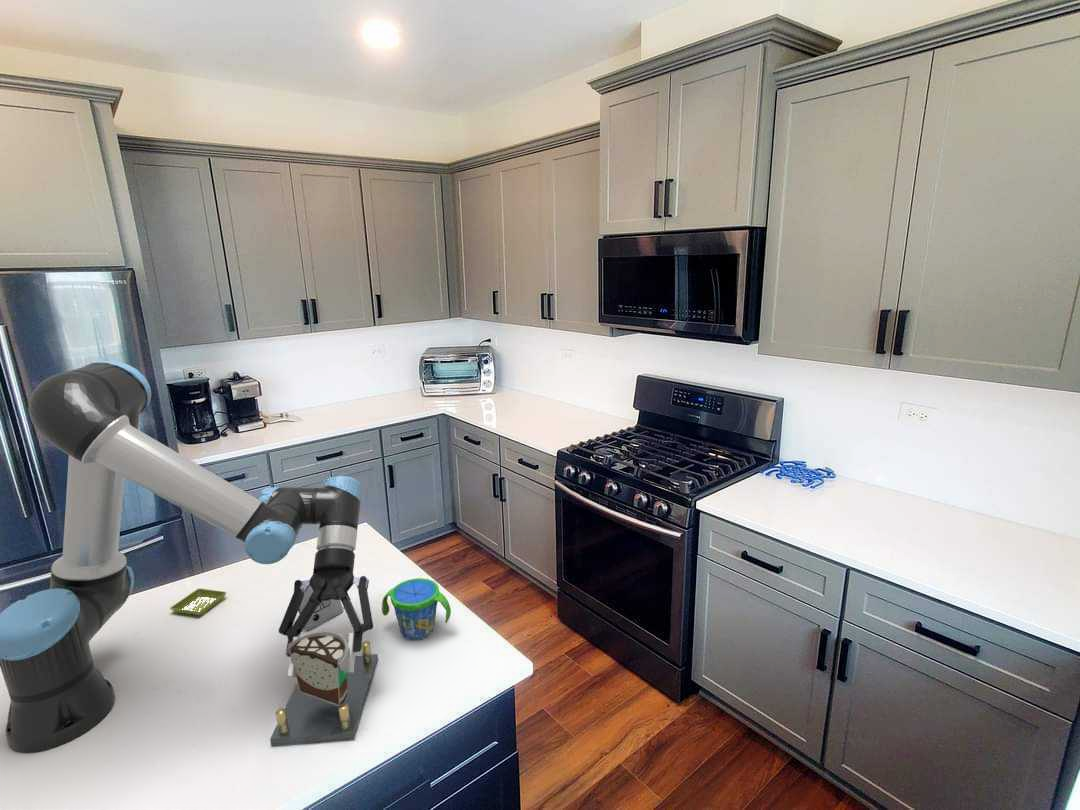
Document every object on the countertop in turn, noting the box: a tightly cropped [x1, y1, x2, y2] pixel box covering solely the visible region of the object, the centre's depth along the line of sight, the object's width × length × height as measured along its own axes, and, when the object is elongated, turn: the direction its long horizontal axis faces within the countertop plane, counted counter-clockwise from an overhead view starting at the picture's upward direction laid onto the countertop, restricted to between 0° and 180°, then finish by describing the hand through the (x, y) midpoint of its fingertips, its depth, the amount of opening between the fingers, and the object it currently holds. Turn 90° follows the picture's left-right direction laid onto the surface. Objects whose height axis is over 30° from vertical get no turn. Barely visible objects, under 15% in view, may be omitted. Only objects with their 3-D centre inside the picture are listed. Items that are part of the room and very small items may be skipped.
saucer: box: [169, 588, 227, 616], centre depth 135 cm, size 9×9×2 cm
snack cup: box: [381, 577, 452, 641], centre depth 123 cm, size 16×10×10 cm
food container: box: [286, 631, 350, 706], centre depth 101 cm, size 12×6×10 cm, turn 68°
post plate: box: [269, 640, 379, 747], centre depth 105 cm, size 14×20×6 cm
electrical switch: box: [298, 586, 344, 631], centre depth 129 cm, size 9×5×9 cm, turn 141°
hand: (321, 674), depth 100 cm, fingers closed on food container, 9 cm apart
